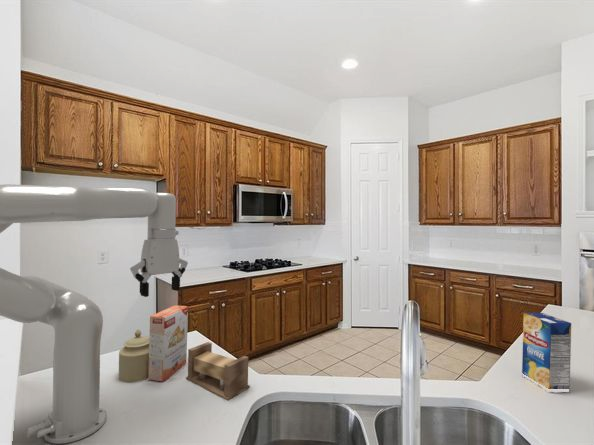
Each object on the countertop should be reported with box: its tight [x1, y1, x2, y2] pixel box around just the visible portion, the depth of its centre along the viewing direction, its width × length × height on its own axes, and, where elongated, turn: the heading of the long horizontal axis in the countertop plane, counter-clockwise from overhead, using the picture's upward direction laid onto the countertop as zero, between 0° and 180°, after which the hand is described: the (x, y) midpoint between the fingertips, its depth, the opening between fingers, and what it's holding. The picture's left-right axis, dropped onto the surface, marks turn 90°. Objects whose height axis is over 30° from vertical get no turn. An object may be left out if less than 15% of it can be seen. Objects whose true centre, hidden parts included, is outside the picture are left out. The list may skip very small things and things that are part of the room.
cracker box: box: [147, 304, 189, 383], centre depth 107 cm, size 14×6×21 cm, turn 168°
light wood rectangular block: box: [194, 351, 236, 381], centre depth 100 cm, size 14×6×4 cm, turn 61°
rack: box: [185, 341, 250, 401], centre depth 100 cm, size 9×20×10 cm, turn 54°
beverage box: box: [521, 312, 572, 390], centre depth 103 cm, size 7×11×22 cm, turn 3°
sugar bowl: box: [118, 329, 149, 383], centre depth 106 cm, size 15×11×15 cm
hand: (160, 293), depth 92 cm, fingers open, 9 cm apart
